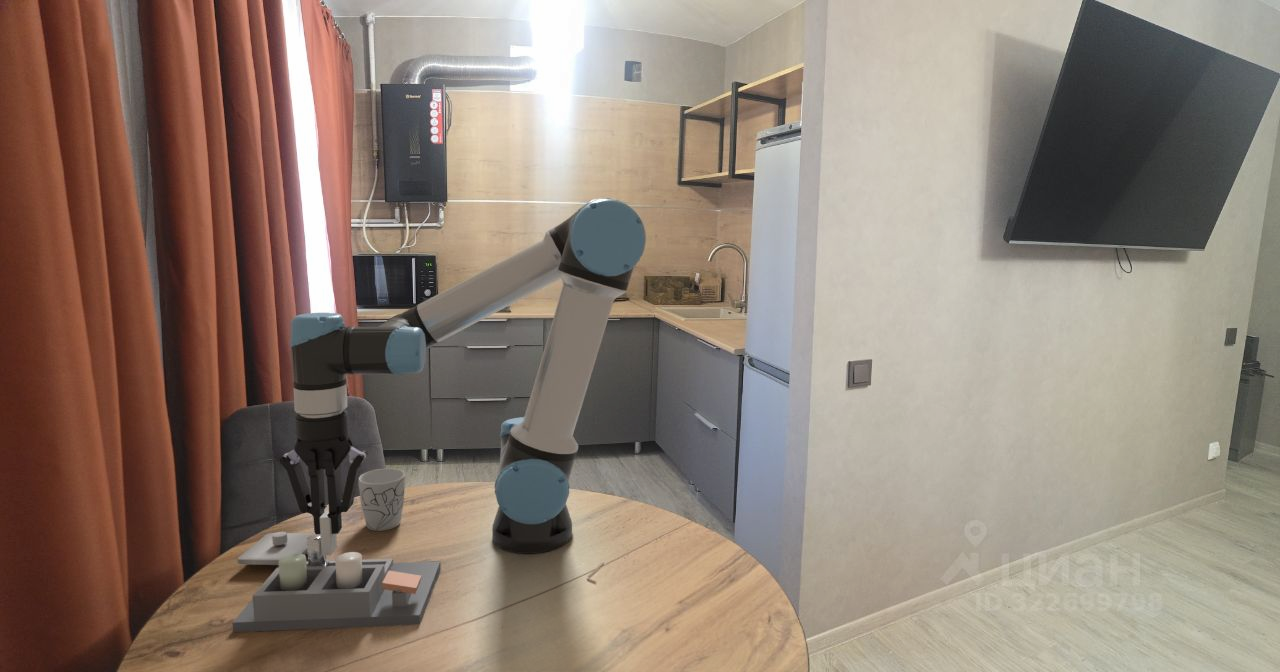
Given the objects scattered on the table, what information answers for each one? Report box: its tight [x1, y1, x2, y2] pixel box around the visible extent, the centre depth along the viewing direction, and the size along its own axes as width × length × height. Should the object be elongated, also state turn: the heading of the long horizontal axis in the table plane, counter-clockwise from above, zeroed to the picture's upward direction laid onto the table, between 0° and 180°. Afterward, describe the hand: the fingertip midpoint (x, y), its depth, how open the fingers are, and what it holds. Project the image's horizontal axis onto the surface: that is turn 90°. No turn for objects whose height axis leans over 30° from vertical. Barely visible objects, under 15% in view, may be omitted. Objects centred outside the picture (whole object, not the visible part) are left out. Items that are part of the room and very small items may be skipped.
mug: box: [358, 468, 406, 532], centre depth 130 cm, size 11×8×10 cm
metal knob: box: [307, 533, 330, 567], centre depth 107 cm, size 3×3×6 cm
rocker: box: [381, 571, 421, 594], centre depth 100 cm, size 5×4×1 cm
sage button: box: [278, 554, 307, 591], centre depth 98 cm, size 4×4×4 cm
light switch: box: [237, 531, 315, 566], centre depth 114 cm, size 10×10×5 cm
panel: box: [231, 558, 442, 633], centre depth 103 cm, size 26×16×6 cm, turn 96°
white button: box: [334, 551, 363, 589], centre depth 98 cm, size 4×4×4 cm
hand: (329, 551), depth 107 cm, fingers closed
